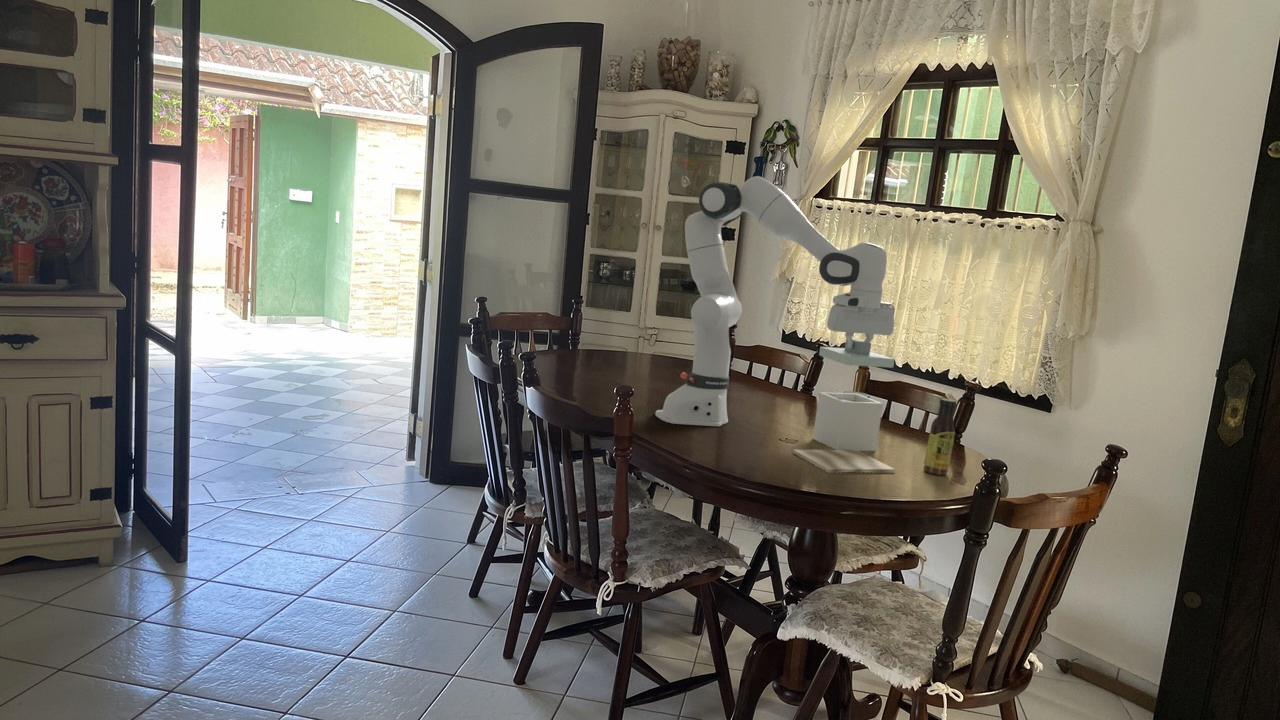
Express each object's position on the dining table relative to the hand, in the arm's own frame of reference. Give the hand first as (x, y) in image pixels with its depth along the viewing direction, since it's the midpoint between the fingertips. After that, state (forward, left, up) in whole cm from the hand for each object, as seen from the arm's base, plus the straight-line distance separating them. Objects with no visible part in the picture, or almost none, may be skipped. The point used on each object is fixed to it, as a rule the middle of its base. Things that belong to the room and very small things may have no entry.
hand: (857, 348), depth 242 cm
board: (-12, -18, -28) cm, 36 cm away
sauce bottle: (+11, -27, -29) cm, 41 cm away
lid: (0, 0, -4) cm, 4 cm away
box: (0, 0, -28) cm, 28 cm away
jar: (+13, +16, -29) cm, 35 cm away
